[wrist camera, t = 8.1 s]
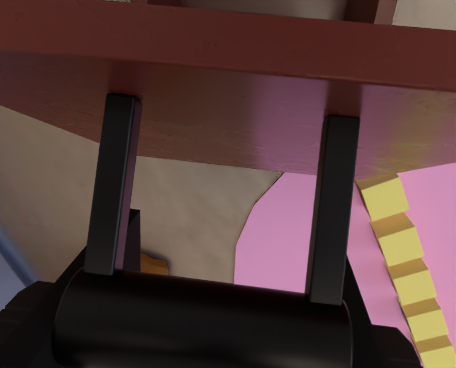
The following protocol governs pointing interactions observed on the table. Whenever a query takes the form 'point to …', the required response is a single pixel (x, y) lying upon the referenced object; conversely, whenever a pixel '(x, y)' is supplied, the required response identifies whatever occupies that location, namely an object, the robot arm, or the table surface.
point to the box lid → (223, 158)
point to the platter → (370, 250)
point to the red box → (297, 8)
